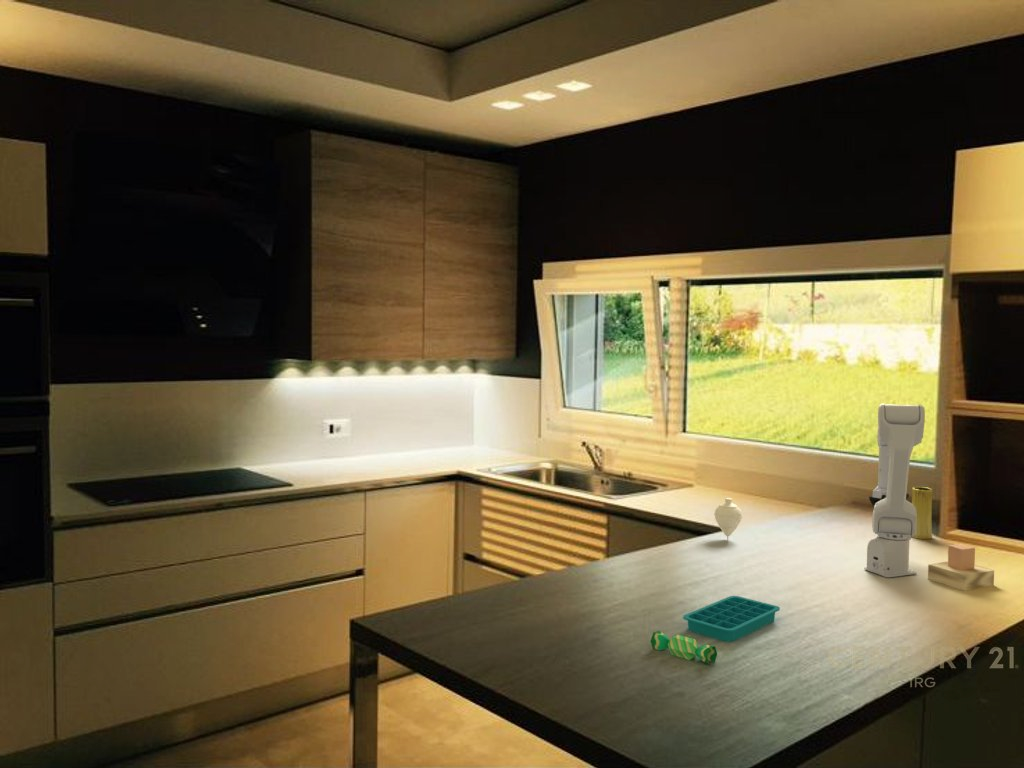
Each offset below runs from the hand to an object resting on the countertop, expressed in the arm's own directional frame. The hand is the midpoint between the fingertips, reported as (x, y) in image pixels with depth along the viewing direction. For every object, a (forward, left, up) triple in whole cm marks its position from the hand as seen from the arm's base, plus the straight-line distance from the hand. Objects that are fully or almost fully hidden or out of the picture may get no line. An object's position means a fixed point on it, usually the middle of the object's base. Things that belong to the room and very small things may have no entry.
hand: (888, 521), depth 228 cm
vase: (+25, +13, -10) cm, 30 cm away
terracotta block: (-1, -24, -6) cm, 25 cm away
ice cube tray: (-70, -30, -10) cm, 77 cm away
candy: (-88, -41, -10) cm, 98 cm away
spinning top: (-30, +30, -10) cm, 43 cm away
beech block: (-1, -24, -10) cm, 26 cm away
